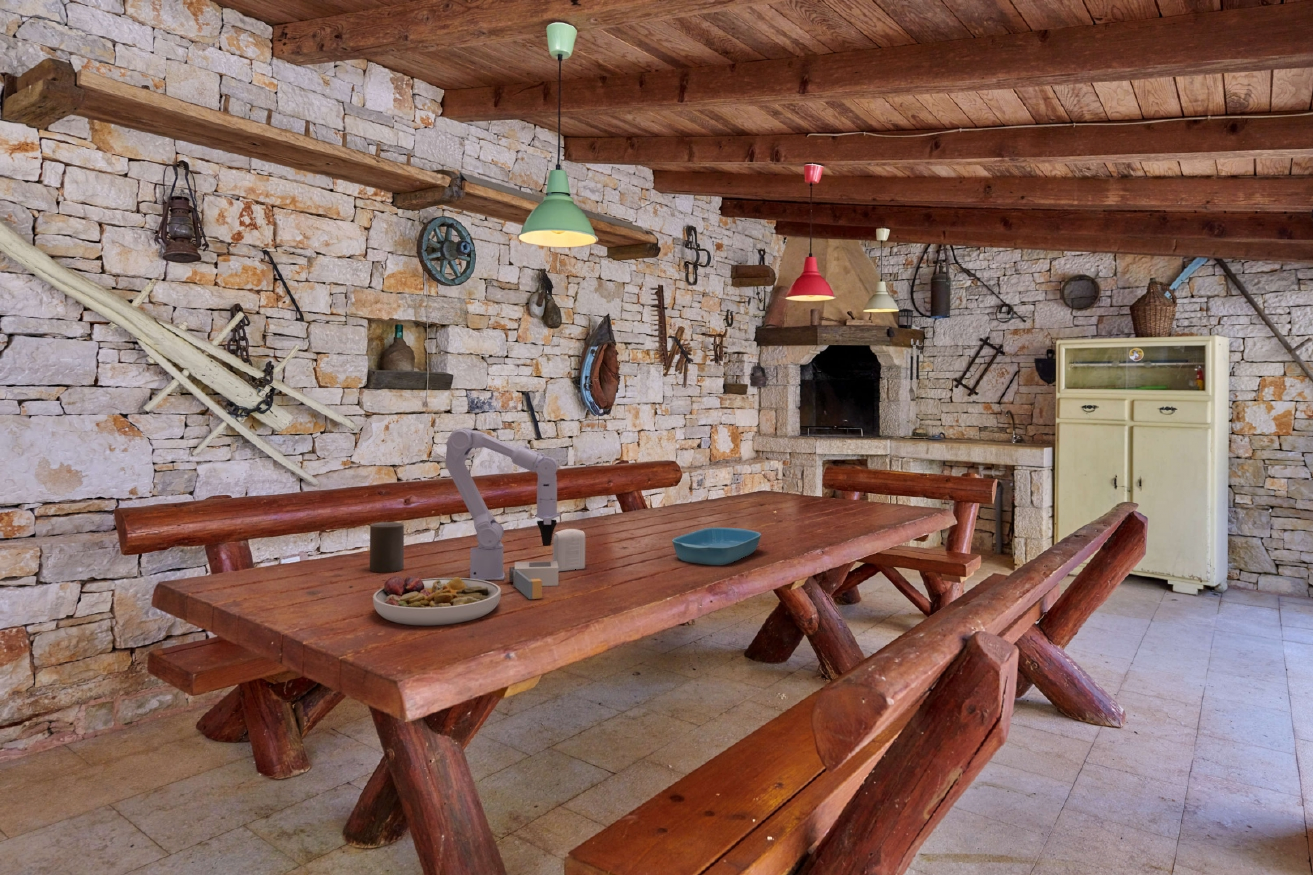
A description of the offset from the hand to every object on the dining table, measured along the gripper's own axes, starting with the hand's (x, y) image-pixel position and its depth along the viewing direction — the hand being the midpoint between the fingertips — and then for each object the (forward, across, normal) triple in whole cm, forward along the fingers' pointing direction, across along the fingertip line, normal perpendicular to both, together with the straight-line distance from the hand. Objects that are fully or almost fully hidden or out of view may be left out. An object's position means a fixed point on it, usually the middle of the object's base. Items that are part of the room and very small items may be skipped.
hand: (546, 545), depth 228 cm
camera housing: (+9, -6, +3) cm, 11 cm away
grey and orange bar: (+9, -17, +6) cm, 20 cm away
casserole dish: (+10, +25, -57) cm, 63 cm away
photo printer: (+10, +10, -7) cm, 16 cm away
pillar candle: (+10, +16, +47) cm, 51 cm away
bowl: (+10, -32, +27) cm, 43 cm away
